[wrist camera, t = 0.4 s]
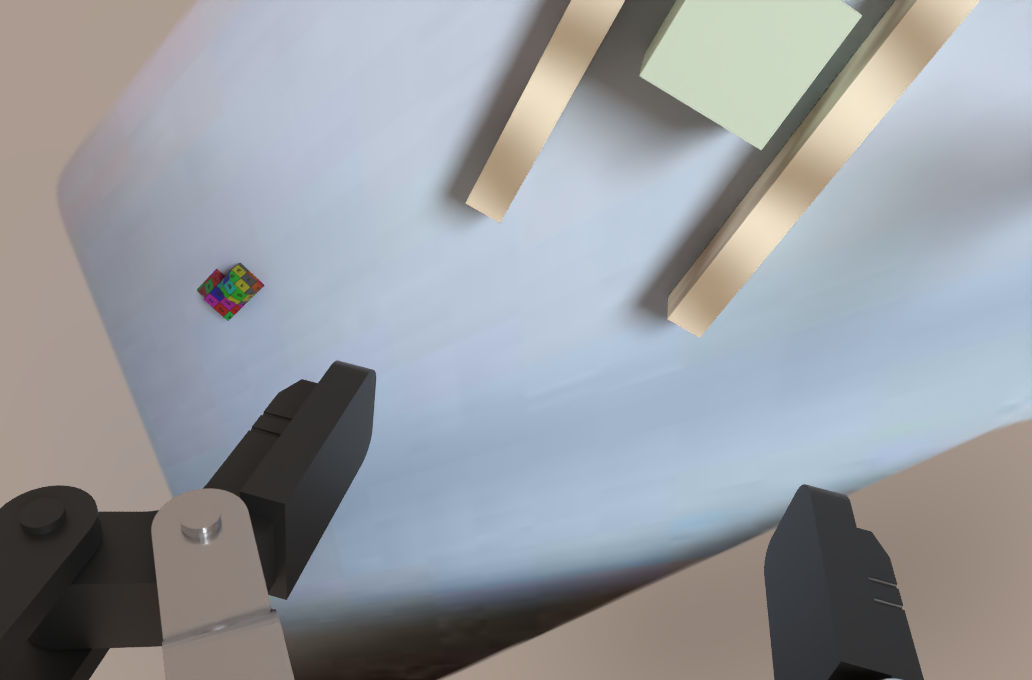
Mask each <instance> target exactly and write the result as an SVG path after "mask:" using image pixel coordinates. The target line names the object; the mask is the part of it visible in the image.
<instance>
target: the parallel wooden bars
mask: <svg viewBox="0 0 1032 680" xmlns="http://www.w3.org/2000/svg"><path fill="white" fill-rule="evenodd" d="M624 1H625V0H571V1H570V3H569V5H568V7H567V9H566V11H565V13H564V15H563V17H562V19H561V21H560V23H559V25H558V26H557V28H556V30H555V32H554V34H553V36H552V38H551V40H550V42H549V44H548V46H547V48H546V49H545V51H544V53H543V55H542V57H541V59H540V61H539V63H538V65H537V67H536V69H535V71H534V72H533V74H532V76H531V78H530V80H529V82H528V84H527V86H526V88H525V90H524V92H523V94H522V96H521V97H520V99H519V101H518V103H517V105H516V107H515V109H514V111H513V113H512V115H511V117H510V119H509V120H508V122H507V124H506V126H505V128H504V130H503V132H502V134H501V136H500V138H499V140H498V142H497V143H496V145H495V147H494V149H493V151H492V153H491V155H490V157H489V159H488V161H487V163H486V165H485V167H484V168H483V170H482V172H481V174H480V176H479V178H478V180H477V182H476V184H475V186H474V188H473V190H472V191H471V193H470V195H469V197H468V199H467V201H466V204H467V205H469V206H471V207H473V208H474V209H476V210H478V211H480V212H481V213H483V214H485V215H487V216H488V217H490V218H492V219H494V220H495V221H497V222H499V223H500V222H501V220H502V218H503V217H504V215H505V213H506V211H507V210H508V208H509V206H510V204H511V202H512V201H513V199H514V197H515V195H516V194H517V192H518V190H519V188H520V186H521V185H522V183H523V181H524V179H525V178H526V176H527V174H528V172H529V170H530V169H531V167H532V165H533V163H534V162H535V160H536V158H537V156H538V154H539V153H540V151H541V149H542V147H543V146H544V144H545V142H546V140H547V138H548V137H549V135H550V133H551V131H552V130H553V128H554V126H555V124H556V122H557V121H558V119H559V117H560V115H561V114H562V112H563V110H564V108H565V106H566V105H567V103H568V101H569V99H570V98H571V96H572V94H573V92H574V90H575V89H576V87H577V85H578V83H579V82H580V80H581V78H582V76H583V74H584V73H585V71H586V69H587V67H588V66H589V64H590V62H591V60H592V58H593V57H594V55H595V53H596V51H597V49H598V48H599V46H600V44H601V42H602V41H603V39H604V37H605V35H606V33H607V32H608V30H609V28H610V26H611V25H612V23H613V21H614V19H615V17H616V16H617V14H618V12H619V10H620V9H621V7H622V5H623V3H624ZM979 1H980V0H895V1H894V3H893V4H892V5H891V7H890V8H889V9H888V11H887V12H886V13H885V14H884V16H883V17H882V18H881V20H880V21H879V22H878V24H877V25H876V26H875V28H874V29H873V30H872V31H871V33H870V34H869V35H868V37H867V38H866V39H865V41H864V42H863V43H862V44H861V46H860V47H859V48H858V50H857V51H856V52H855V54H854V55H853V56H852V58H851V59H850V60H849V61H848V63H847V64H846V65H845V67H844V68H843V69H842V71H841V72H840V73H839V74H838V76H837V77H836V78H835V80H834V81H833V82H832V84H831V85H830V86H829V88H828V89H827V90H826V91H825V93H824V94H823V95H822V97H821V98H820V99H819V101H818V102H817V103H816V104H815V106H814V107H813V108H812V110H811V111H810V112H809V114H808V115H807V116H806V118H805V119H804V120H803V121H802V123H801V124H800V125H799V127H798V128H797V129H796V131H795V132H794V133H793V134H792V136H791V137H790V138H789V140H788V141H787V142H786V144H785V145H784V146H783V148H782V149H781V150H780V151H779V153H778V154H777V155H776V157H775V158H774V159H773V161H772V162H771V163H770V164H769V166H768V167H767V168H766V170H765V171H764V172H763V174H762V175H761V176H760V178H759V179H758V180H757V181H756V183H755V184H754V185H753V187H752V188H751V189H750V191H749V192H748V193H747V194H746V196H745V197H744V198H743V200H742V201H741V202H740V204H739V205H738V206H737V208H736V209H735V210H734V211H733V213H732V214H731V215H730V217H729V218H728V219H727V221H726V222H725V223H724V224H723V226H722V227H721V228H720V230H719V231H718V232H717V234H716V235H715V236H714V238H713V239H712V240H711V241H710V243H709V244H708V245H707V247H706V248H705V249H704V251H703V252H702V253H701V254H700V256H699V257H698V258H697V260H696V261H695V262H694V264H693V265H692V266H691V268H690V269H689V270H688V271H687V273H686V274H685V275H684V277H683V278H682V279H681V281H680V282H679V283H678V284H677V286H676V287H675V288H674V290H673V291H672V292H671V294H670V295H669V296H668V314H667V319H668V320H670V321H672V322H673V323H675V324H677V325H679V326H680V327H682V328H684V329H686V330H687V331H689V332H691V333H693V334H694V335H696V336H698V337H699V338H700V337H701V336H702V334H703V333H704V332H705V331H706V330H707V328H708V327H709V326H710V325H711V324H712V322H713V321H714V320H715V319H716V318H717V316H718V315H719V314H720V313H721V311H722V310H723V309H724V308H725V307H726V305H727V304H728V303H729V302H730V301H731V299H732V298H733V297H734V296H735V295H736V293H737V292H738V291H739V290H740V289H741V287H742V286H743V285H744V284H745V283H746V281H747V280H748V279H749V278H750V277H751V275H752V274H753V273H754V272H755V271H756V269H757V268H758V267H759V266H760V265H761V263H762V262H763V261H764V260H765V259H766V257H767V256H768V255H769V254H770V253H771V251H772V250H773V249H774V248H775V246H776V245H777V244H778V243H779V242H780V240H781V239H782V238H783V237H784V236H785V234H786V233H787V232H788V231H789V230H790V228H791V227H792V226H793V225H794V224H795V222H796V221H797V220H798V219H799V218H800V216H801V215H802V214H803V213H804V212H805V210H806V209H807V208H808V207H809V206H810V204H811V203H812V202H813V201H814V200H815V198H816V197H817V196H818V195H819V194H820V192H821V191H822V190H823V189H824V188H825V186H826V185H827V184H828V183H829V181H830V180H831V179H832V178H833V177H834V175H835V174H836V173H837V172H838V171H839V169H840V168H841V167H842V166H843V165H844V163H845V162H846V161H847V160H848V159H849V157H850V156H851V155H852V154H853V153H854V151H855V150H856V149H857V148H858V147H859V145H860V144H861V143H862V142H863V141H864V139H865V138H866V137H867V136H868V135H869V133H870V132H871V131H872V130H873V129H874V127H875V126H876V125H877V124H878V123H879V121H880V120H881V119H882V118H883V117H884V115H885V114H886V113H887V112H888V110H889V109H890V108H891V107H892V106H893V104H894V103H895V102H896V101H897V100H898V98H899V97H900V96H901V95H902V94H903V92H904V91H905V90H906V89H907V88H908V86H909V85H910V84H911V83H912V82H913V80H914V79H915V78H916V77H917V76H918V74H919V73H920V72H921V71H922V70H923V68H924V67H925V66H926V65H927V64H928V62H929V61H930V60H931V59H932V58H933V56H934V55H935V54H936V53H937V52H938V50H939V49H940V48H941V47H942V45H943V44H944V43H945V42H946V41H947V39H948V38H949V37H950V36H951V35H952V33H953V32H954V31H955V30H956V29H957V27H958V26H959V25H960V24H961V23H962V21H963V20H964V19H965V18H966V17H967V15H968V14H969V13H970V12H971V11H972V9H973V8H974V7H975V6H976V5H977V3H978V2H979Z"/></svg>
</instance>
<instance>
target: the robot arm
mask: <svg viewBox="0 0 1032 680" xmlns="http://www.w3.org/2000/svg"><path fill="white" fill-rule="evenodd" d="M375 387H376V373H375V371H374V370H372V369H368V368H364V367H360V366H356V365H353V364H349V363H345V362H341V361H335V362H334V363H333V364H332V365H331V366H330V368H329V369H328V370H327V372H326V373H325V375H324V376H323V377H322V379H321V380H320V381H319V383H314V382H310V381H307V380H303V379H302V380H300V381H298V382H296V383H295V384H293V385H291V386H290V387H288V388H286V389H284V390H283V391H281V392H279V393H278V394H277V396H276V397H275V398H274V399H273V401H272V402H271V403H270V404H269V406H268V407H267V408H266V410H265V411H264V414H263V415H261V416H260V417H259V418H258V420H257V421H256V422H255V424H254V425H253V426H252V429H251V431H250V430H249V431H248V432H247V434H246V435H245V436H244V438H243V439H242V440H241V441H240V443H239V444H238V445H237V446H236V448H235V449H234V450H233V452H232V453H231V454H230V455H229V457H228V458H227V459H226V460H225V462H224V463H223V464H222V466H221V467H220V468H219V469H218V471H217V472H216V473H215V474H214V476H213V477H212V478H211V480H210V481H209V482H208V483H207V485H206V486H205V487H204V488H203V489H197V490H193V491H189V492H186V493H183V494H181V495H179V496H177V497H175V498H173V499H171V500H170V501H169V502H167V503H166V504H165V505H164V506H163V507H162V508H161V509H160V510H157V511H149V512H98V509H97V505H96V503H95V500H94V499H93V498H92V496H90V495H89V494H88V493H87V492H85V491H83V490H81V489H78V488H75V487H70V486H48V487H42V488H38V489H35V490H31V491H28V492H26V493H24V494H21V495H19V496H17V497H16V498H14V499H12V500H11V501H9V502H8V503H6V504H5V505H4V506H3V507H2V508H0V680H89V678H90V677H91V676H92V674H93V673H94V671H95V670H96V668H97V667H98V665H99V664H100V662H101V661H102V659H103V658H104V656H105V655H106V653H107V652H108V650H109V649H110V648H123V647H151V646H162V649H163V659H164V668H165V678H166V680H294V677H293V672H292V668H291V664H290V660H289V656H288V652H287V648H286V644H285V640H284V636H283V631H282V627H281V623H280V620H279V617H278V614H277V611H276V610H275V609H274V610H272V607H271V604H270V600H269V596H268V595H271V596H275V597H278V598H282V599H285V600H287V598H288V597H289V595H290V593H291V591H292V589H293V588H294V586H295V584H296V582H297V580H298V579H299V577H300V575H301V573H302V571H303V570H304V568H305V566H306V564H307V562H308V560H309V559H310V557H311V555H312V553H313V551H314V550H315V548H316V546H317V544H318V542H319V541H320V539H321V537H322V535H323V533H324V532H325V530H326V528H327V526H328V524H329V523H330V521H331V519H332V517H333V515H334V514H335V512H336V510H337V508H338V506H339V505H340V503H341V501H342V499H343V497H344V495H345V494H346V492H347V490H348V488H349V486H350V485H351V483H352V481H353V479H354V477H355V476H356V474H357V472H358V470H359V468H360V467H361V465H362V463H363V461H364V459H365V456H366V454H367V451H368V448H369V444H370V440H371V436H372V427H373V414H374V401H375ZM764 576H765V586H766V596H767V607H768V616H769V627H770V637H771V648H772V658H773V668H774V678H775V680H924V678H923V675H922V672H921V668H920V664H919V661H918V657H917V654H916V650H915V646H914V643H913V639H912V636H911V632H910V629H909V625H908V621H907V618H906V614H905V611H904V610H902V606H903V603H902V600H901V596H900V593H899V589H897V588H896V585H897V582H896V578H895V575H894V571H893V568H892V564H891V561H890V557H889V556H888V554H887V553H886V552H885V550H884V549H883V547H882V546H881V545H880V543H879V542H878V540H877V539H876V538H875V536H874V535H873V533H872V532H871V531H867V530H863V529H859V528H857V527H856V523H855V519H854V515H853V511H852V507H851V503H850V500H849V498H848V497H847V496H846V495H843V494H840V493H836V492H832V491H828V490H824V489H821V488H817V487H813V486H809V485H802V486H800V487H799V489H798V490H797V492H796V493H795V495H794V497H793V499H792V501H791V503H790V505H789V506H788V508H787V510H786V512H785V514H784V516H783V518H782V519H781V521H780V523H779V525H778V527H777V529H776V531H775V532H774V534H773V536H772V538H771V540H770V543H769V546H768V549H767V553H766V557H765V566H764Z"/></svg>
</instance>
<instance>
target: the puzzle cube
mask: <svg viewBox="0 0 1032 680" xmlns="http://www.w3.org/2000/svg"><path fill="white" fill-rule="evenodd" d="M263 286H264V284H263V283H262V282H260V281H259V280H258V279H257V278H256V277H255V276H254V275H253V274H252V273H251V272H250V271H249V270H248V269H246V268H245V267H244V266H243V265H242V264H241V263H239V264H238V265H237V266H236V267H235V268H233V269H232V270H231V271H230V272H229V273H228V274H227V275H226V276H224V275H223V274H222V273H221V272H220V271H219V270H217V269H216V270H215V271H214V272H213V273H212V274H211V275H210V276H209V277H208V279H207V280H206V281H205V282H204V283H203V284H202V285H201V286H200V287H199V288H198V289H197V291H198V292H199V293H201V294H202V295H203V296H204V297H205V298H204V300H205V301H206V302H207V303H208V304H210V305H211V306H212V307H213V308H214V309H215V310H216V311H217V312H219V313H220V314H221V315H222V316H223V317H224V318H225V319H226V320H227V321H229V320H230V319H231V318H232V317H233V316H234V315H235V314H236V313H237V312H238V311H239V310H240V309H241V308H242V307H243V306H244V305H245V304H246V303H247V302H248V301H249V300H250V299H251V298H252V297H253V296H254V295H255V294H256V293H257V292H258V291H259V290H260V289H261V288H262V287H263Z"/></svg>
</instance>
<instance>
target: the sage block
mask: <svg viewBox="0 0 1032 680" xmlns="http://www.w3.org/2000/svg"><path fill="white" fill-rule="evenodd" d="M861 17H862V15H861V14H860V13H859V12H857V11H856V10H854V9H853V8H852V7H850V6H849V5H848V4H846V3H845V2H843V1H842V0H676V1H675V3H674V5H673V6H672V8H671V10H670V11H669V13H668V15H667V16H666V18H665V20H664V21H663V23H662V25H661V26H660V28H659V30H658V31H657V33H656V35H655V36H654V38H653V40H652V41H651V43H650V45H649V46H648V48H647V50H646V51H645V53H644V57H643V62H642V66H641V71H640V77H642V78H643V79H645V80H646V81H648V82H650V83H651V84H653V85H655V86H656V87H658V88H660V89H661V90H663V91H665V92H666V93H668V94H669V95H671V96H673V97H674V98H676V99H678V100H679V101H681V102H683V103H684V104H686V105H688V106H689V107H691V108H692V109H694V110H696V111H697V112H699V113H701V114H702V115H704V116H706V117H707V118H709V119H711V120H712V121H714V122H716V123H717V124H719V125H720V126H722V127H724V128H725V129H727V130H729V131H730V132H732V133H734V134H735V135H737V136H739V137H740V138H742V139H743V140H745V141H747V142H748V143H750V144H752V145H753V146H755V147H757V148H758V149H760V150H762V149H763V148H764V146H765V145H766V144H767V142H768V141H769V140H770V138H771V137H772V136H773V134H774V133H775V132H776V130H777V129H778V128H779V126H780V125H781V124H782V122H783V121H784V120H785V118H786V117H787V116H788V114H789V113H790V112H791V110H792V109H793V108H794V106H795V105H796V104H797V102H798V101H799V100H800V98H801V97H802V96H803V94H804V93H805V92H806V90H807V89H808V88H809V86H810V85H811V84H812V82H813V81H814V80H815V78H816V77H817V76H818V74H819V73H820V72H821V70H822V69H823V68H824V66H825V65H826V63H827V62H828V61H829V59H830V58H831V57H832V55H833V54H834V53H835V51H836V50H837V49H838V47H839V46H840V45H841V43H842V42H843V41H844V39H845V38H846V37H847V35H848V34H849V33H850V31H851V30H852V29H853V27H854V26H855V25H856V23H857V22H858V21H859V19H860V18H861Z"/></svg>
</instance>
